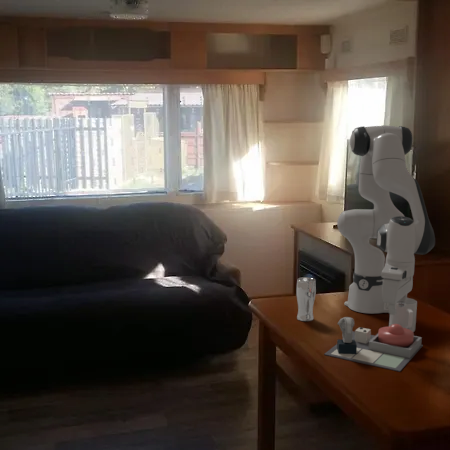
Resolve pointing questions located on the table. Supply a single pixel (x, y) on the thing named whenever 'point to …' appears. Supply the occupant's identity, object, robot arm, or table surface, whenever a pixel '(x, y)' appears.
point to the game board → (378, 351)
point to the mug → (405, 315)
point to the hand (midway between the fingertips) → (397, 310)
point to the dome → (396, 336)
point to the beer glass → (305, 298)
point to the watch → (346, 337)
